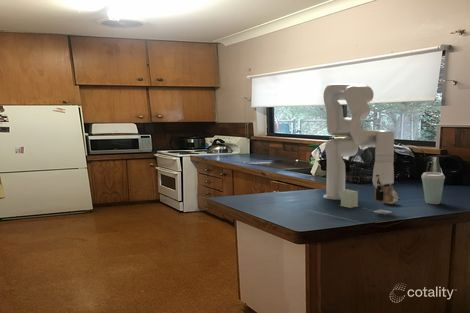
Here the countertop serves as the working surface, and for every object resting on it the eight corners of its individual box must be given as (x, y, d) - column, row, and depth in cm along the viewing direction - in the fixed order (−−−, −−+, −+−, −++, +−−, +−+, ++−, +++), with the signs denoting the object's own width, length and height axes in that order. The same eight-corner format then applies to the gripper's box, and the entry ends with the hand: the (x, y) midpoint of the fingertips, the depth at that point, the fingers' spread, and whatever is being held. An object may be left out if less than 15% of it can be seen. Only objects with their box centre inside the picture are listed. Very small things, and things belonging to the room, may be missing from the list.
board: (351, 203, 196) (351, 201, 196) (397, 212, 178) (397, 210, 177) (333, 208, 187) (333, 205, 187) (380, 217, 169) (380, 215, 169)
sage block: (347, 203, 193) (348, 189, 192) (357, 205, 189) (357, 191, 188) (340, 205, 189) (341, 191, 189) (350, 207, 185) (350, 192, 184)
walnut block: (381, 199, 179) (381, 184, 178) (392, 201, 174) (393, 185, 174) (374, 201, 175) (374, 185, 174) (385, 203, 171) (386, 187, 170)
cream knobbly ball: (386, 211, 195) (382, 193, 201) (404, 207, 191) (399, 188, 196) (380, 205, 189) (376, 186, 195) (398, 200, 185) (393, 181, 190)
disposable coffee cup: (445, 205, 190) (447, 175, 189) (421, 204, 194) (422, 174, 192) (442, 201, 200) (443, 172, 199) (418, 200, 204) (420, 171, 202)
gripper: (387, 156, 181) (386, 195, 183) (365, 159, 171) (364, 200, 172) (402, 157, 175) (401, 198, 177) (381, 160, 165) (380, 203, 166)
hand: (383, 199), depth 175 cm, fingers closed on walnut block, 5 cm apart
